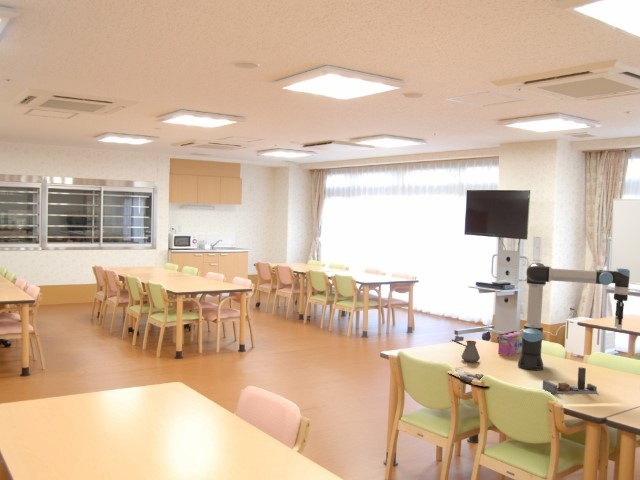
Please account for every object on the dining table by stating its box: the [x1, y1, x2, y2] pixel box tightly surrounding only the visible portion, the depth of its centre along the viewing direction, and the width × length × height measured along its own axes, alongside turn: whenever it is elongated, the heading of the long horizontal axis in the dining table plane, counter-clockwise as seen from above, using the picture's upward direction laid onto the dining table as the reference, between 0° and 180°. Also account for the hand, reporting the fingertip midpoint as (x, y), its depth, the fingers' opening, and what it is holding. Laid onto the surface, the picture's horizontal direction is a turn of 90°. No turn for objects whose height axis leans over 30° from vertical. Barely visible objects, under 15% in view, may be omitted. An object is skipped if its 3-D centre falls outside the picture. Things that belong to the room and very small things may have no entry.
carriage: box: [569, 366, 589, 391], centre depth 318 cm, size 9×5×12 cm, turn 98°
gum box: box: [497, 330, 522, 357], centre depth 411 cm, size 24×8×14 cm, turn 134°
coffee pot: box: [449, 339, 481, 364], centre depth 380 cm, size 21×12×15 cm, turn 112°
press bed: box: [552, 383, 599, 395], centre depth 317 cm, size 26×11×4 cm, turn 98°
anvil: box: [542, 379, 558, 395], centre depth 315 cm, size 2×11×4 cm, turn 8°
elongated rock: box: [453, 367, 485, 385], centre depth 338 cm, size 35×5×10 cm
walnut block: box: [557, 382, 571, 391], centre depth 317 cm, size 4×4×4 cm
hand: (617, 328), depth 363 cm, fingers open, 13 cm apart
